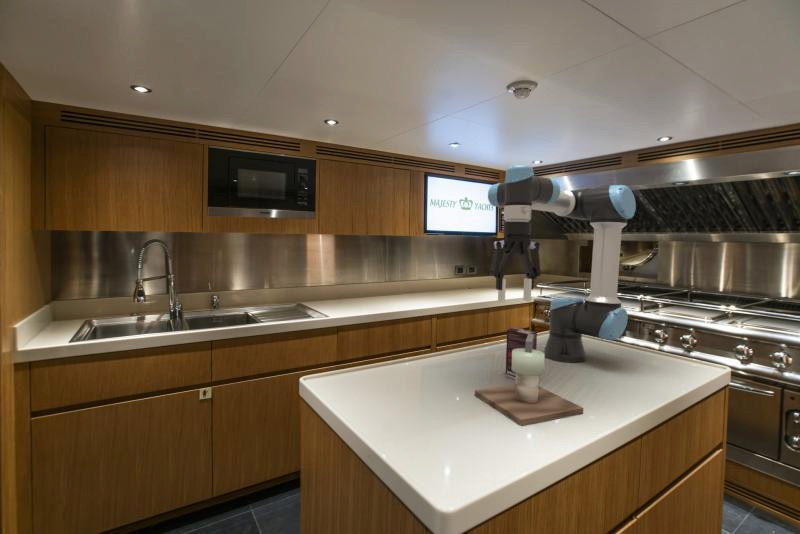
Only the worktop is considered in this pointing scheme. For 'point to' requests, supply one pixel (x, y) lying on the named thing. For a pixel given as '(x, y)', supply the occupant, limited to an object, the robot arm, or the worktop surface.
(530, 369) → the white cylinder
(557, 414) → the wooden board with post
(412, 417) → the worktop surface
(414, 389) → the worktop surface
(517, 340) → the supplement box
